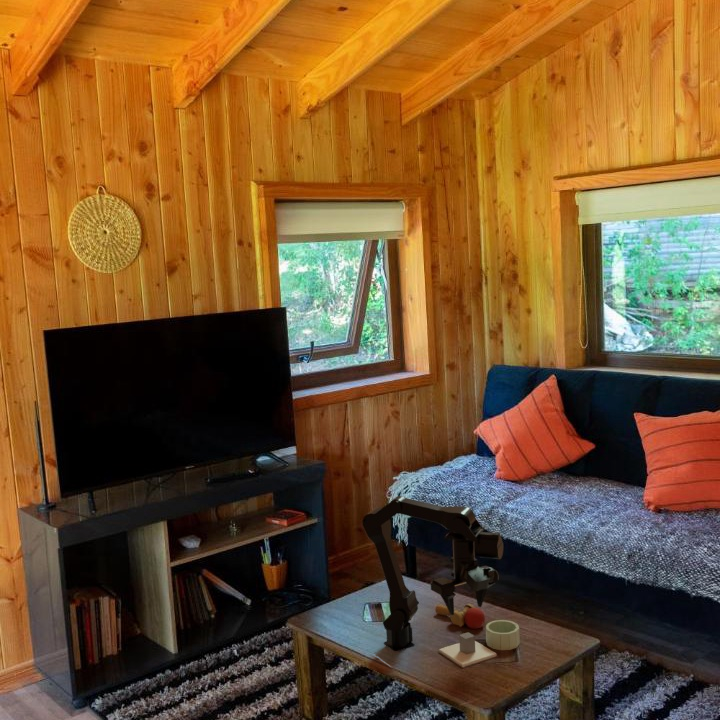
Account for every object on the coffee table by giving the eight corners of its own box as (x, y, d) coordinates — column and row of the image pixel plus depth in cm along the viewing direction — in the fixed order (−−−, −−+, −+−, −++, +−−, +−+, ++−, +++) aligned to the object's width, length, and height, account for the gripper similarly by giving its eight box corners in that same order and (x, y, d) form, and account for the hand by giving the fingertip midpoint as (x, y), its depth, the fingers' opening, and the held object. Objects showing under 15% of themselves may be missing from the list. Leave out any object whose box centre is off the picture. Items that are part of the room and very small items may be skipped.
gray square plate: (462, 669, 238) (462, 668, 238) (437, 653, 248) (436, 651, 248) (499, 657, 243) (498, 656, 243) (472, 641, 254) (472, 640, 254)
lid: (462, 667, 238) (462, 648, 238) (439, 651, 248) (438, 633, 247) (496, 656, 243) (495, 637, 243) (472, 641, 253) (471, 623, 252)
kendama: (428, 622, 271) (472, 632, 258) (428, 601, 272) (472, 609, 258) (447, 619, 276) (491, 628, 262) (447, 598, 277) (490, 606, 263)
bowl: (500, 654, 245) (499, 636, 245) (480, 642, 253) (479, 625, 252) (526, 645, 250) (525, 628, 249) (505, 634, 257) (505, 617, 257)
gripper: (452, 571, 231) (455, 629, 233) (510, 556, 240) (512, 612, 242) (428, 559, 240) (430, 615, 242) (484, 544, 249) (486, 599, 251)
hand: (465, 610), depth 244 cm, fingers open, 9 cm apart
